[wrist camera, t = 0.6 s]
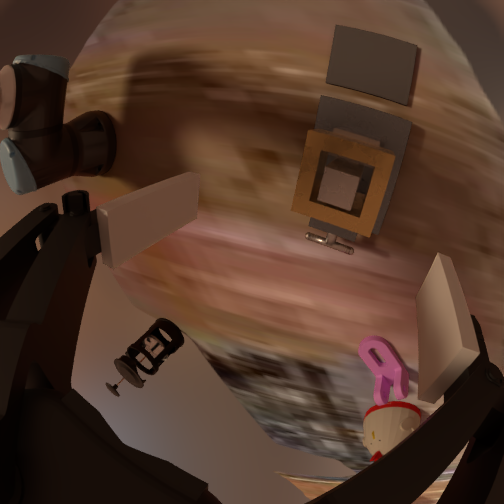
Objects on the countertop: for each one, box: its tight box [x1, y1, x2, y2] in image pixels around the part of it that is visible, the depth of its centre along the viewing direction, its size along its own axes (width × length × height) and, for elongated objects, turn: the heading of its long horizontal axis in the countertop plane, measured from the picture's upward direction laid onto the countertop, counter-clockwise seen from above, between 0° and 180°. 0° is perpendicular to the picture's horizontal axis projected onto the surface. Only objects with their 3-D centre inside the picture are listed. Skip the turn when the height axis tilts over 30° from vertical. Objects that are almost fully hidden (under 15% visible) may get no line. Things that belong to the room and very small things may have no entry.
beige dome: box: [363, 401, 421, 462], centre depth 46 cm, size 14×14×15 cm
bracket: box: [358, 336, 409, 406], centre depth 44 cm, size 13×6×7 cm, turn 45°
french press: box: [106, 318, 184, 397], centre depth 61 cm, size 12×9×23 cm
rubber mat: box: [326, 25, 417, 106], centre depth 28 cm, size 11×9×1 cm
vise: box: [305, 95, 412, 255], centre depth 30 cm, size 12×19×16 cm, turn 171°
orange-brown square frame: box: [291, 129, 395, 238], centre depth 26 cm, size 8×8×5 cm
